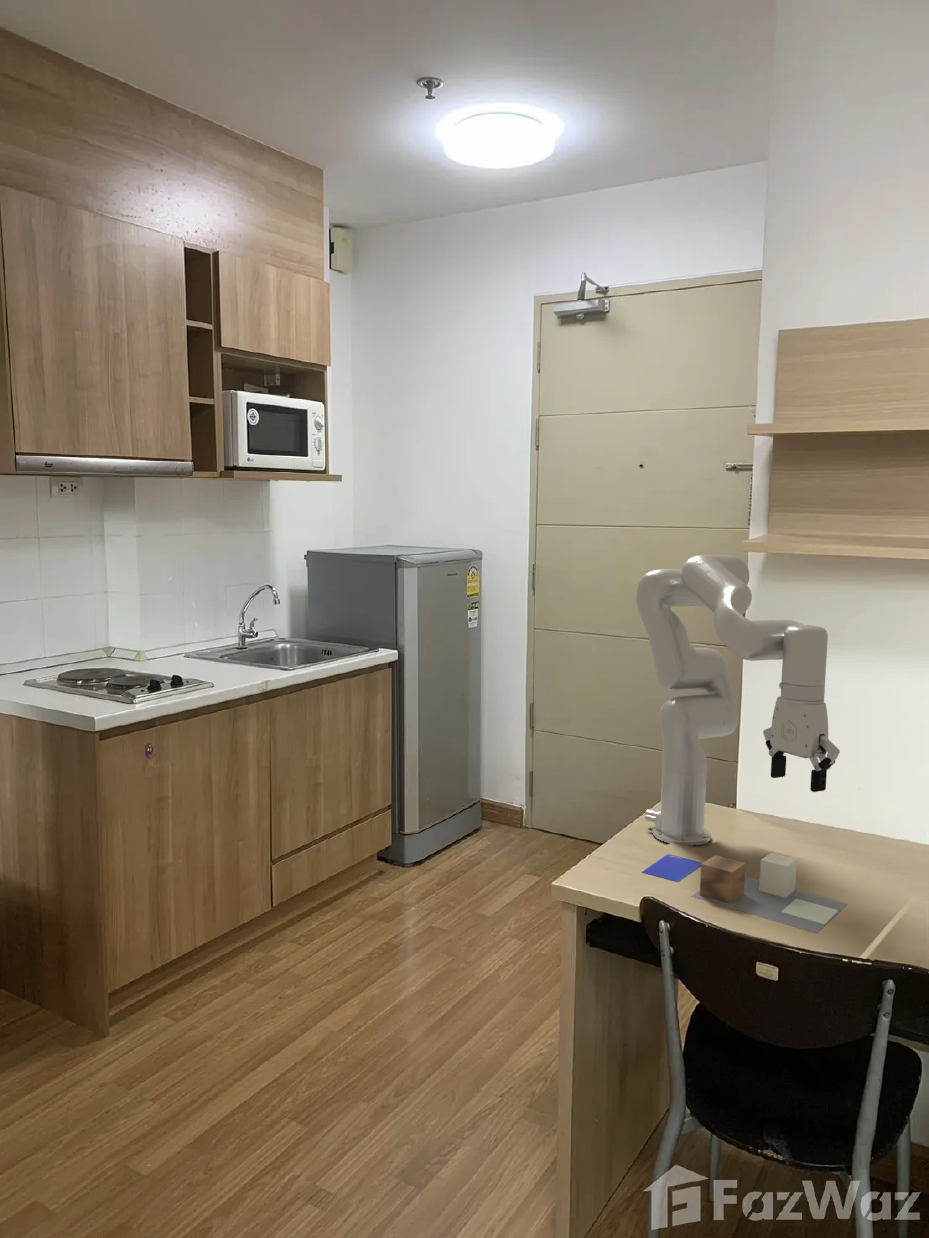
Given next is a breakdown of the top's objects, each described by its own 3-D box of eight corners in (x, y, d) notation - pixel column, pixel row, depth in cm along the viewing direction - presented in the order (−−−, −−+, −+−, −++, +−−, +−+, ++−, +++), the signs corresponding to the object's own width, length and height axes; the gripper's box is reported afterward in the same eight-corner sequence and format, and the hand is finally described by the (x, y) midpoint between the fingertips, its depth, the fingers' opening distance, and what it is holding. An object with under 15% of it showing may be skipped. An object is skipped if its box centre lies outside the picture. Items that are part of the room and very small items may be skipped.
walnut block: (699, 895, 171) (701, 863, 170) (713, 885, 176) (715, 855, 175) (730, 904, 167) (732, 872, 167) (743, 894, 172) (745, 863, 171)
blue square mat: (666, 853, 192) (640, 871, 182) (704, 862, 187) (679, 881, 177) (666, 860, 192) (640, 878, 182) (704, 870, 187) (678, 889, 177)
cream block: (759, 890, 174) (760, 859, 173) (769, 882, 178) (770, 852, 177) (785, 897, 171) (787, 866, 170) (795, 889, 174) (796, 859, 174)
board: (691, 900, 171) (691, 895, 171) (726, 875, 183) (727, 870, 183) (816, 937, 156) (817, 932, 156) (846, 907, 168) (847, 903, 168)
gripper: (753, 686, 175) (748, 774, 177) (824, 702, 160) (819, 799, 161) (782, 683, 178) (777, 770, 180) (855, 699, 163) (849, 794, 165)
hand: (797, 783), depth 171 cm, fingers open, 9 cm apart
